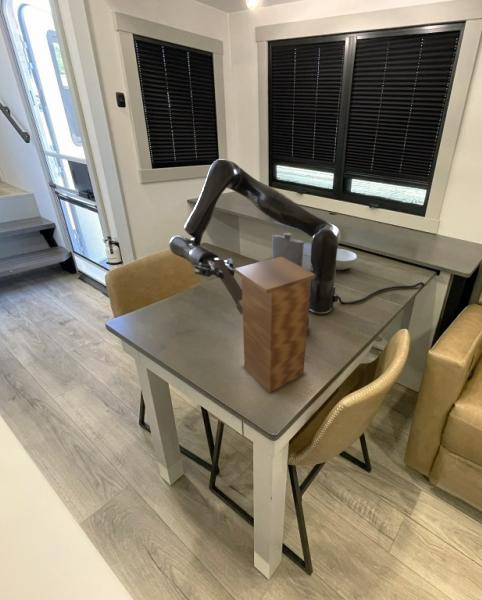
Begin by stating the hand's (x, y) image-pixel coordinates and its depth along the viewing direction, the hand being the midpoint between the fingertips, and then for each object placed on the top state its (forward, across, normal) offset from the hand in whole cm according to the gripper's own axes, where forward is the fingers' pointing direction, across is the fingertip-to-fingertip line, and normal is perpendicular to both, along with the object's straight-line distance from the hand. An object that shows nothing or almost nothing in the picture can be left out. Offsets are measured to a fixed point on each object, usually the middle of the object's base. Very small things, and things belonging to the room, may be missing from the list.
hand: (227, 274), depth 102 cm
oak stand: (+23, 0, +23) cm, 32 cm away
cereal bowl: (-21, +73, +21) cm, 79 cm away
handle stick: (+2, 0, +4) cm, 4 cm away
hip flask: (-29, +45, +21) cm, 57 cm away
